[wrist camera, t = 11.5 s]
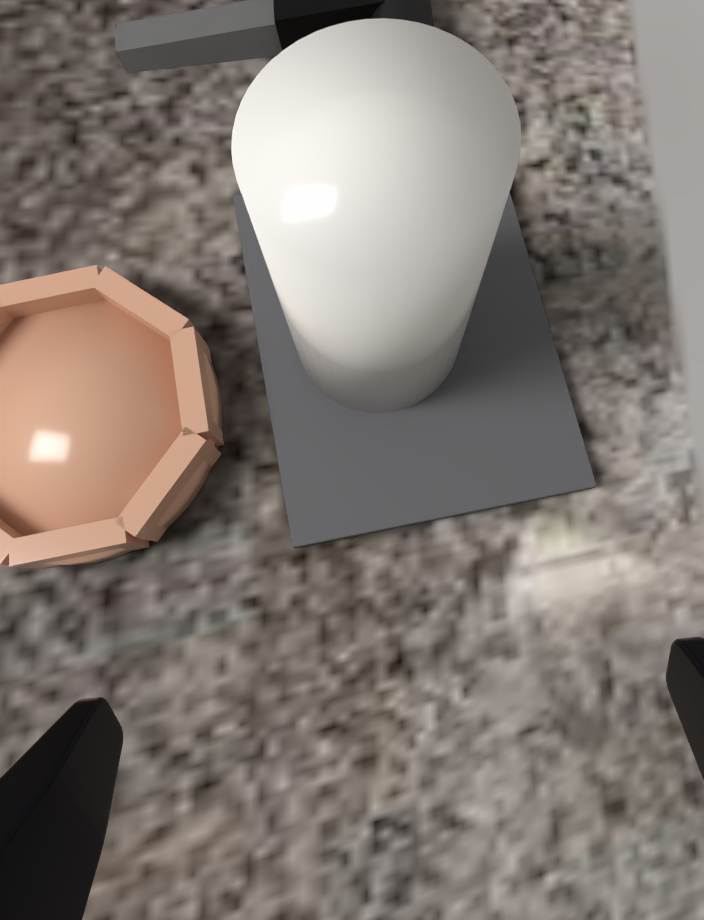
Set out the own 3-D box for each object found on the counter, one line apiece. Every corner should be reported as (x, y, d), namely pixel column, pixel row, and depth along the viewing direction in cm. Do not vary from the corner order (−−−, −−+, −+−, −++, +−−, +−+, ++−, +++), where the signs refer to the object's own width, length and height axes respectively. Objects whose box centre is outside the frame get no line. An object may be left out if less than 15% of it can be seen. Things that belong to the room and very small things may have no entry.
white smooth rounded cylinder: (444, 426, 23) (496, 289, 13) (280, 396, 24) (199, 241, 13) (471, 275, 25) (539, 36, 14) (316, 250, 25) (268, 3, 15)
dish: (242, 533, 24) (228, 527, 21) (-48, 591, 24) (-91, 591, 22) (202, 270, 26) (186, 241, 24) (-58, 324, 26) (-97, 300, 24)
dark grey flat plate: (591, 488, 23) (596, 486, 23) (295, 548, 23) (292, 547, 23) (492, 151, 27) (494, 141, 26) (236, 204, 27) (232, 195, 26)
